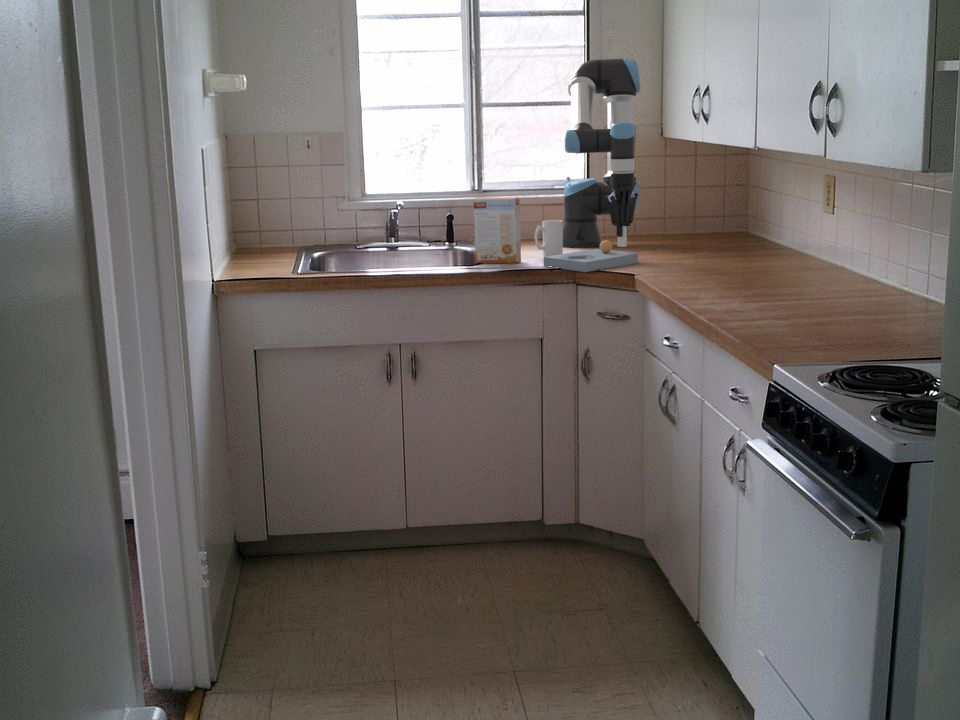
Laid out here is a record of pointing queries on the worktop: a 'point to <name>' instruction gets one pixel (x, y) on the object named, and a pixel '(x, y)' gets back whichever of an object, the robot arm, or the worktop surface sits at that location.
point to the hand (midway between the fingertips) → (622, 246)
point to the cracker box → (497, 230)
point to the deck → (591, 260)
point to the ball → (605, 246)
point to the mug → (550, 237)
